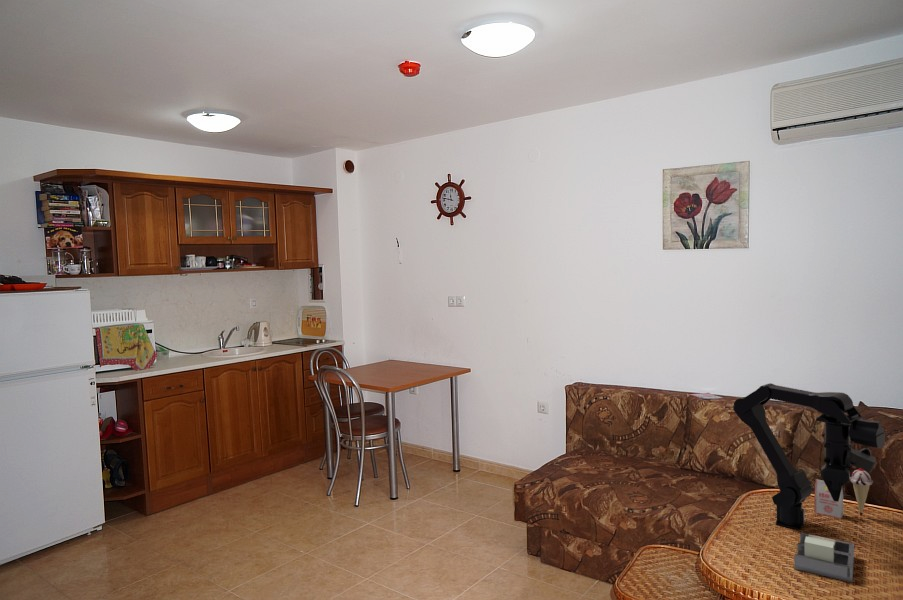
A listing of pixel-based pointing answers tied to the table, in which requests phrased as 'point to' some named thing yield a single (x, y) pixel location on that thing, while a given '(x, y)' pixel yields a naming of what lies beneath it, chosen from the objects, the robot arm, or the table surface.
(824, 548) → the pale sage upright block
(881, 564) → the table surface
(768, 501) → the table surface
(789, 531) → the table surface
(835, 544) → the gray compartment tray
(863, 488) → the ice cream cone
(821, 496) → the white boxy piece
